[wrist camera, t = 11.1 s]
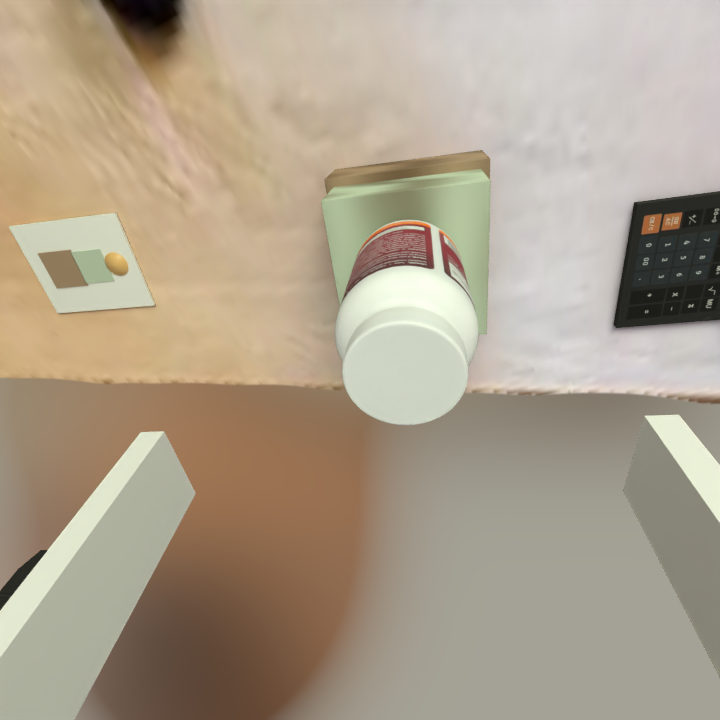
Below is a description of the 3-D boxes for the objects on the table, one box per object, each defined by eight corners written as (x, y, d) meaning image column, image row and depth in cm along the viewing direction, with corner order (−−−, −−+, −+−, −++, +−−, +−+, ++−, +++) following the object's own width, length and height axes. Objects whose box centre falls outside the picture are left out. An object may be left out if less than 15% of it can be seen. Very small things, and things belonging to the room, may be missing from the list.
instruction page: (59, 312, 39) (56, 313, 39) (10, 225, 35) (7, 226, 35) (155, 304, 37) (153, 305, 37) (116, 212, 33) (114, 213, 33)
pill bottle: (341, 295, 26) (299, 407, 17) (378, 198, 23) (352, 272, 13) (432, 332, 27) (440, 459, 17) (482, 243, 23) (524, 342, 14)
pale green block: (355, 299, 35) (339, 349, 28) (335, 169, 30) (310, 192, 23) (479, 290, 33) (494, 340, 26) (481, 150, 28) (501, 169, 21)
